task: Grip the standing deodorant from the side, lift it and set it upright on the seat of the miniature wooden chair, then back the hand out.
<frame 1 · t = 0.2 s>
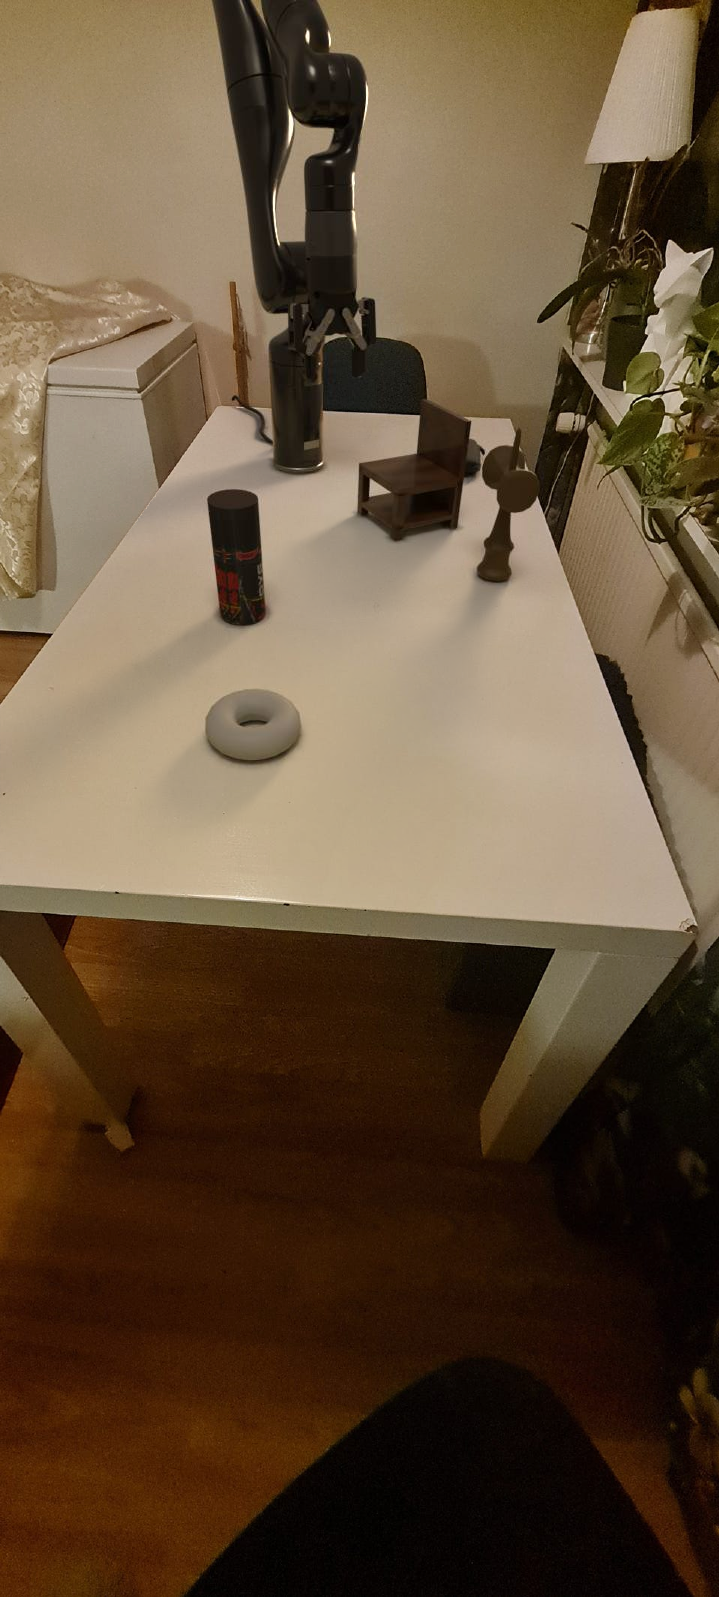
hand: (333, 379, 113), 17 cm above the table, tool pointing down, fingers open, 8 cm apart
kendama: (493, 576, 104), on the table
donut: (254, 737, 75), on the table
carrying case: (456, 465, 136), on the table
deodorant: (243, 615, 93), on the table
miniature wooden chair: (406, 520, 117), on the table
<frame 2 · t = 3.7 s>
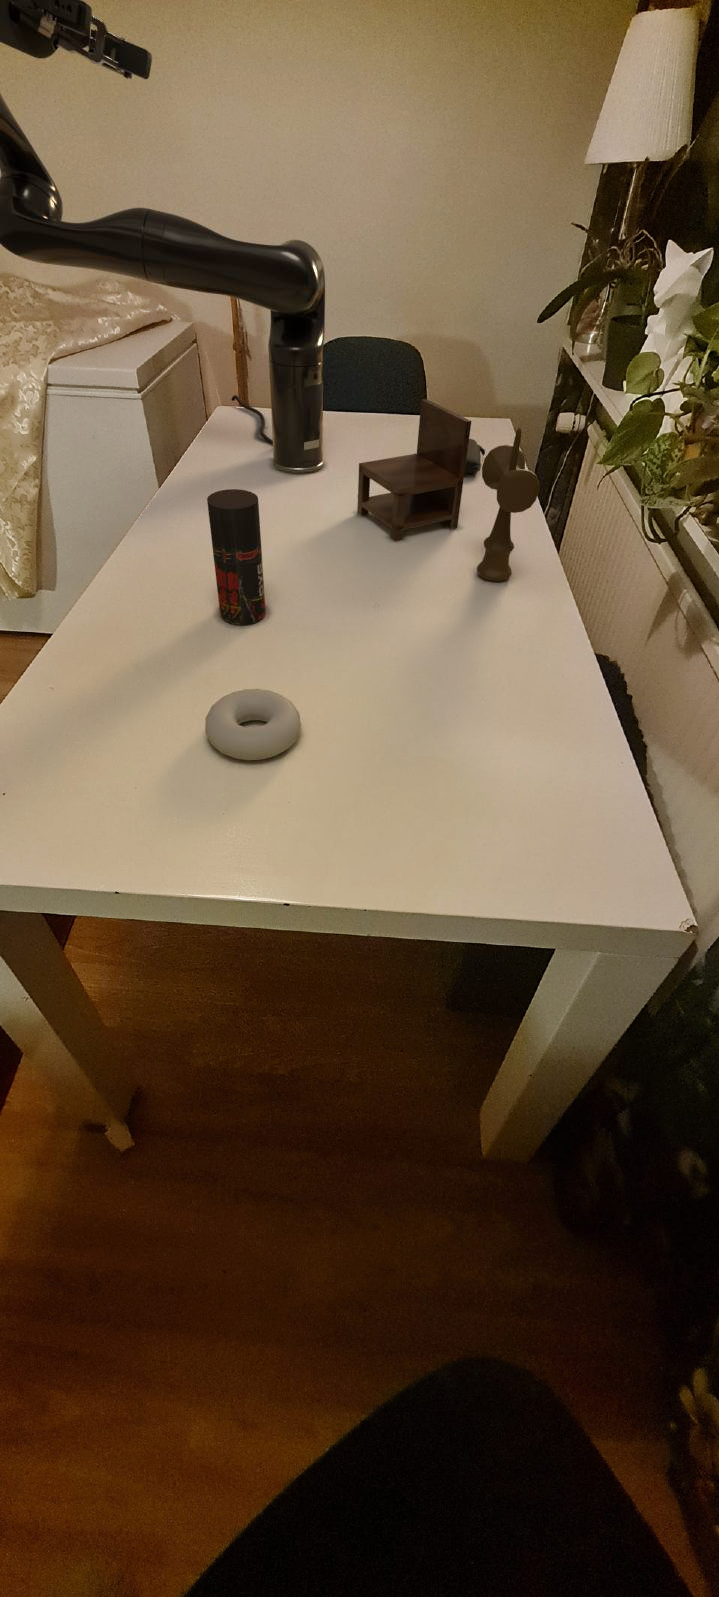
hand: (119, 43, 72), 52 cm above the table, tool horizontal, fingers open, 8 cm apart
nothing on the table moved.
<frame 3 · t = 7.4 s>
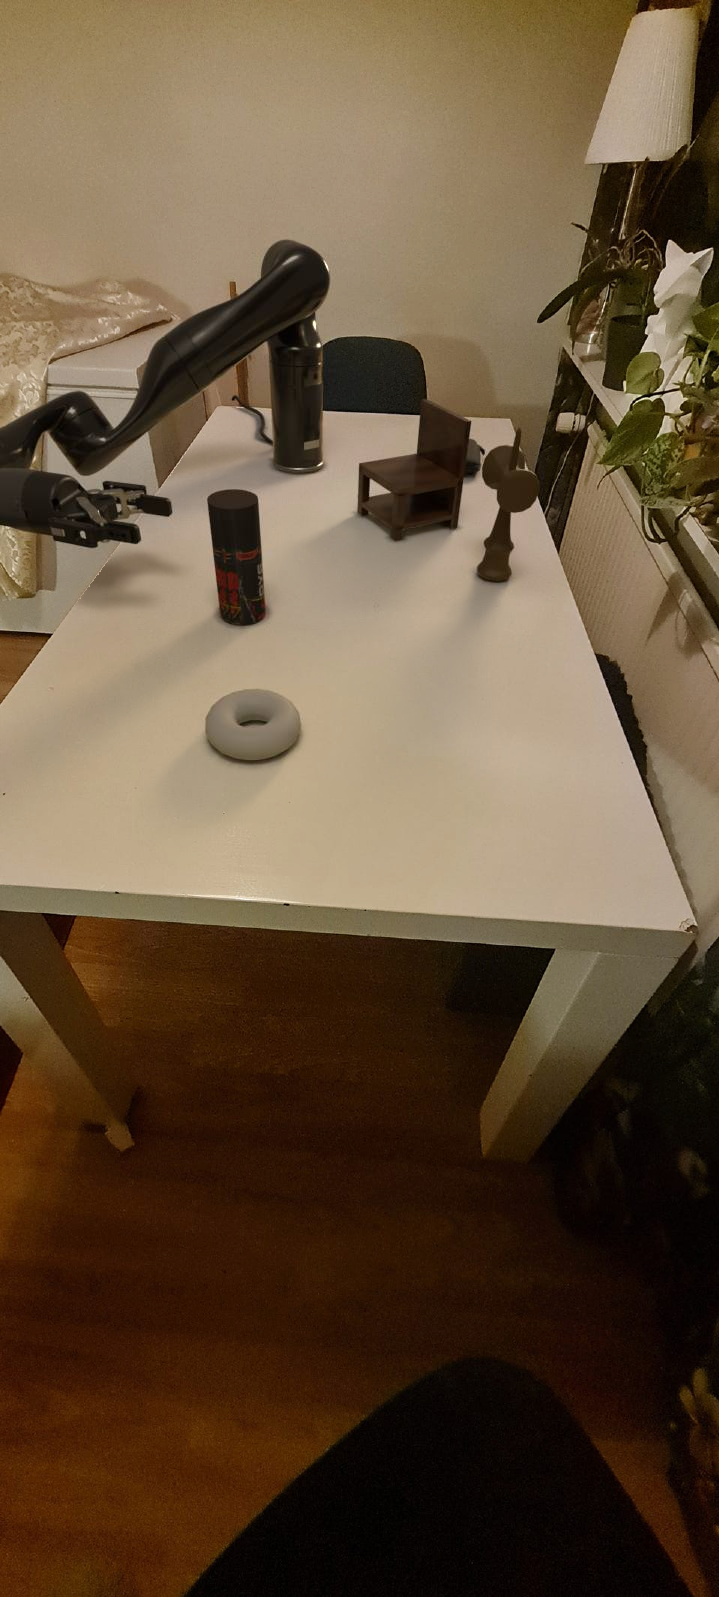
hand: (155, 520, 87), 11 cm above the table, tool horizontal, fingers open, 8 cm apart
nothing on the table moved.
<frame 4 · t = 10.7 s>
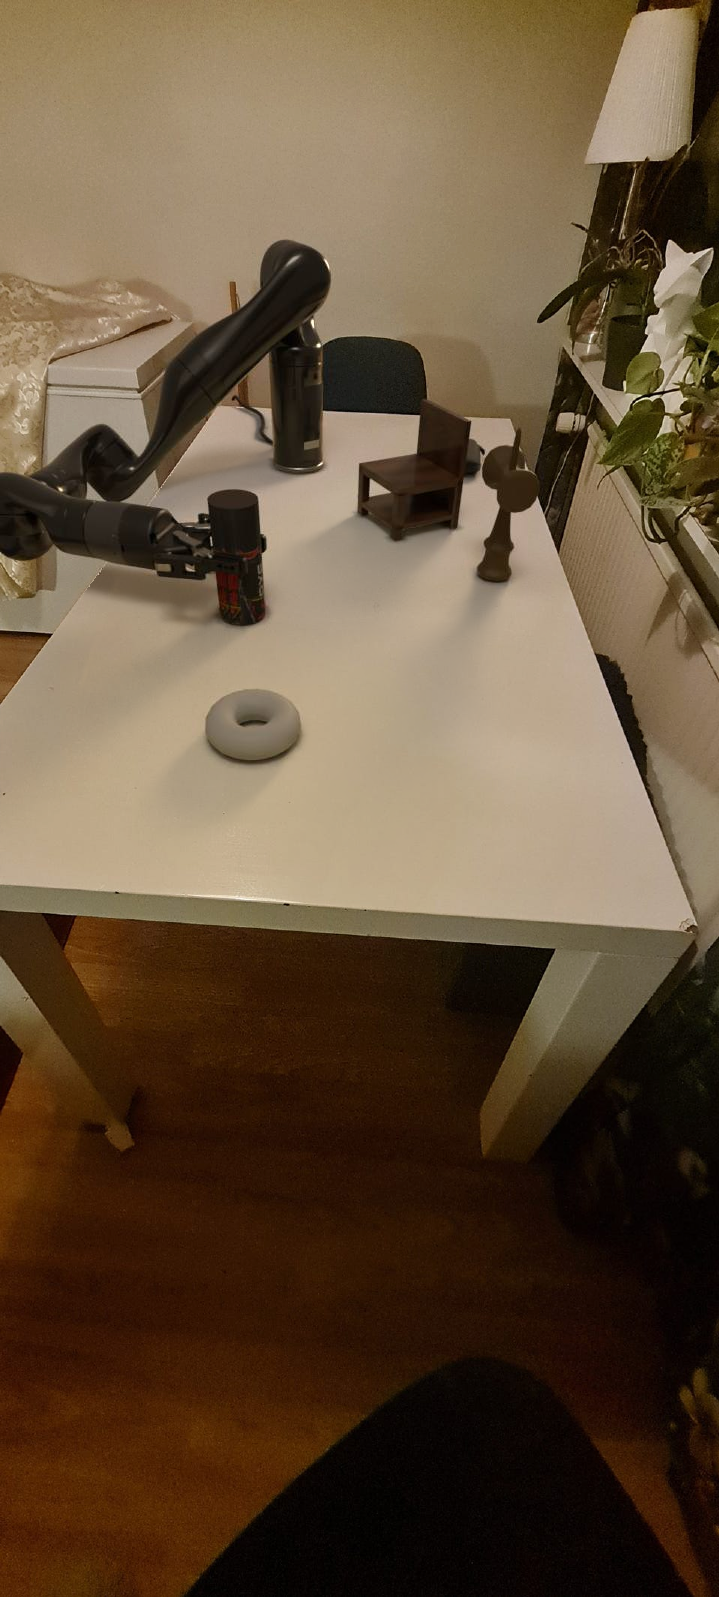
hand: (255, 554, 87), 9 cm above the table, tool horizontal, fingers closed on deodorant, 6 cm apart
deodorant: (243, 615, 93), on the table, touching gripper
everything else where it was.
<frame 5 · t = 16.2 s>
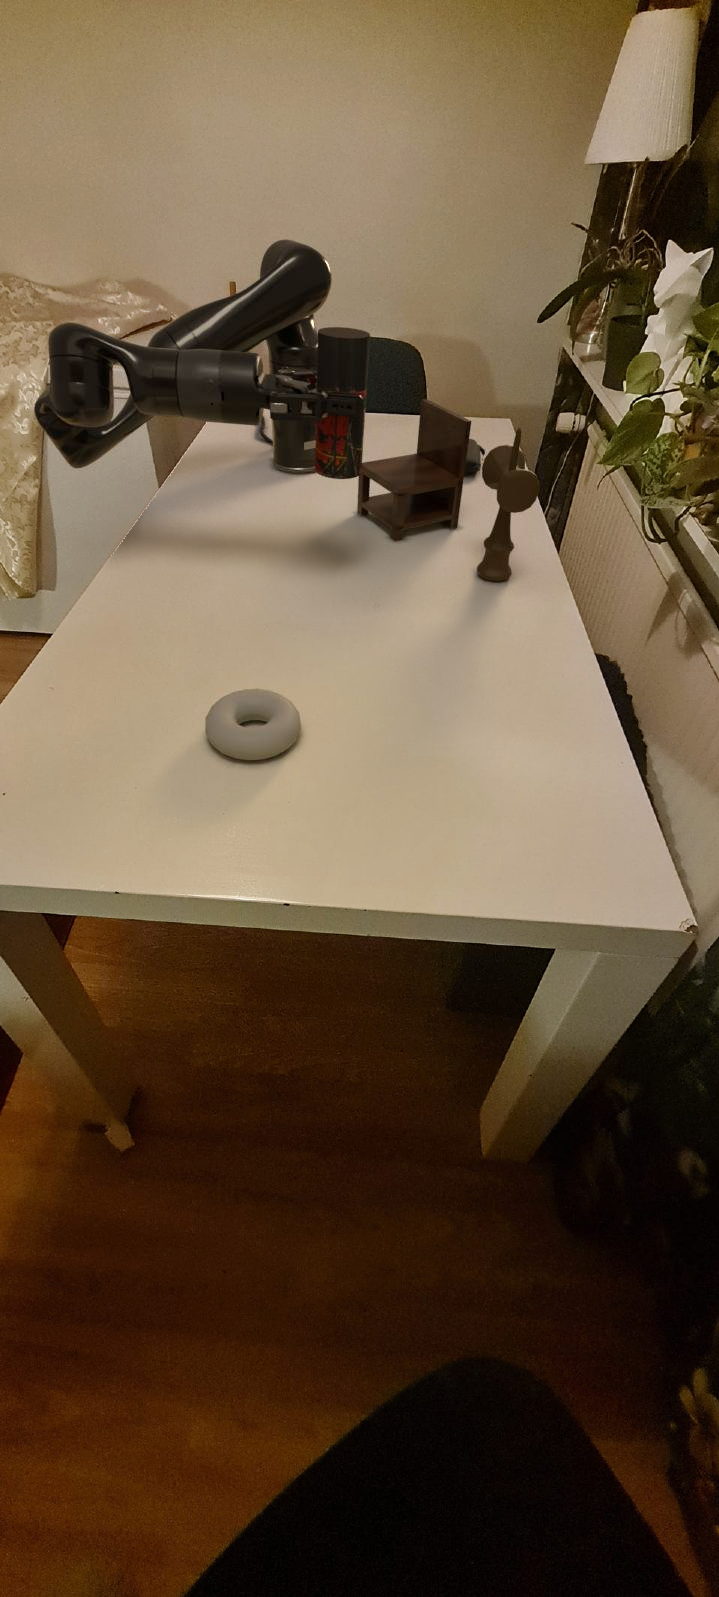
hand: (361, 397, 85), 23 cm above the table, tool horizontal, fingers closed on deodorant, 6 cm apart
deodorant: (338, 472, 90), point 15 cm above the table, touching gripper
everything else where it was.
when the fingers open (17 cm above the table, at t = 21.6 s): deodorant stays where it is, resting on miniature wooden chair.
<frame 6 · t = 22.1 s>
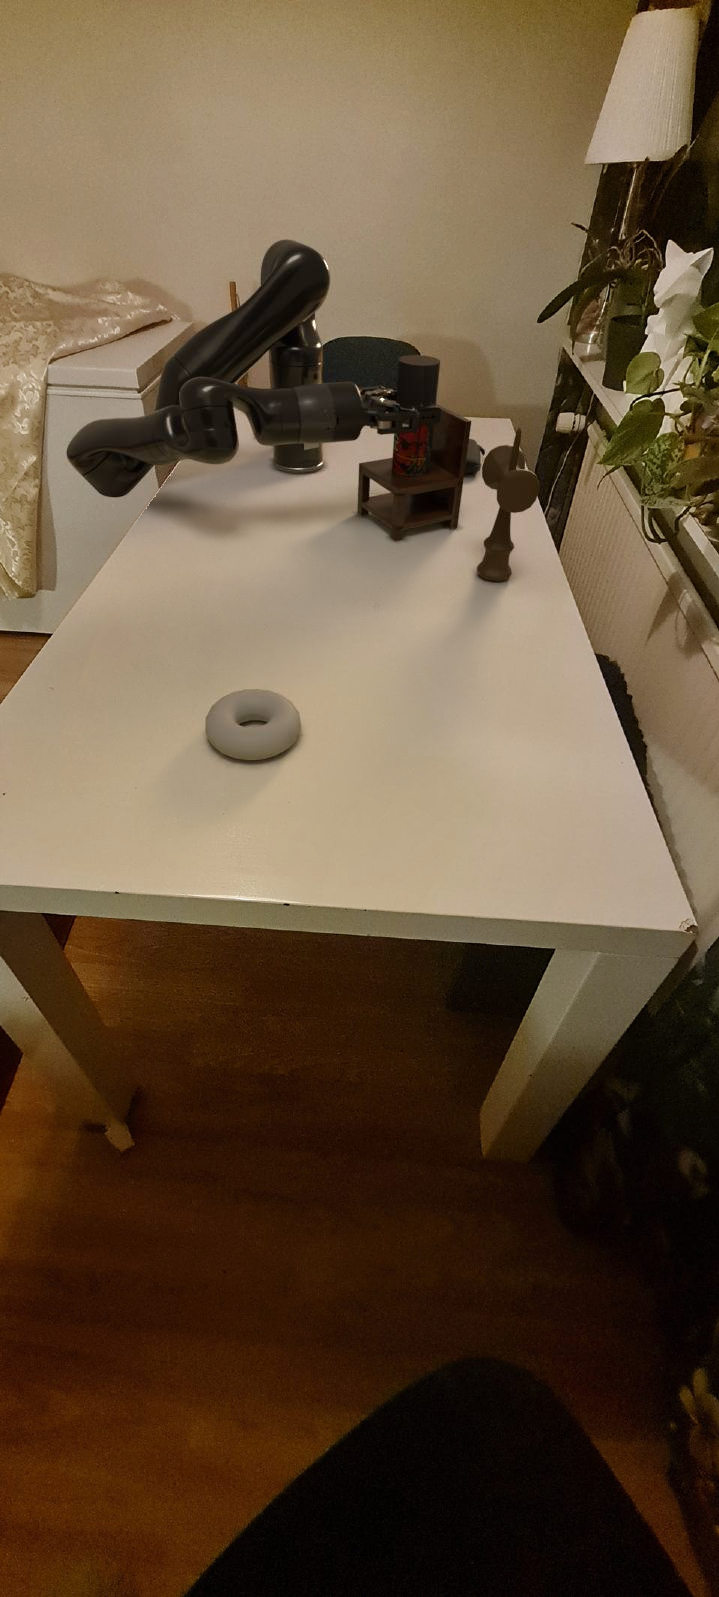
hand: (427, 405, 105), 17 cm above the table, tool horizontal, fingers open, 8 cm apart
deodorant: (410, 470, 111), point 8 cm above the table, touching miniature wooden chair
everything else where it was.
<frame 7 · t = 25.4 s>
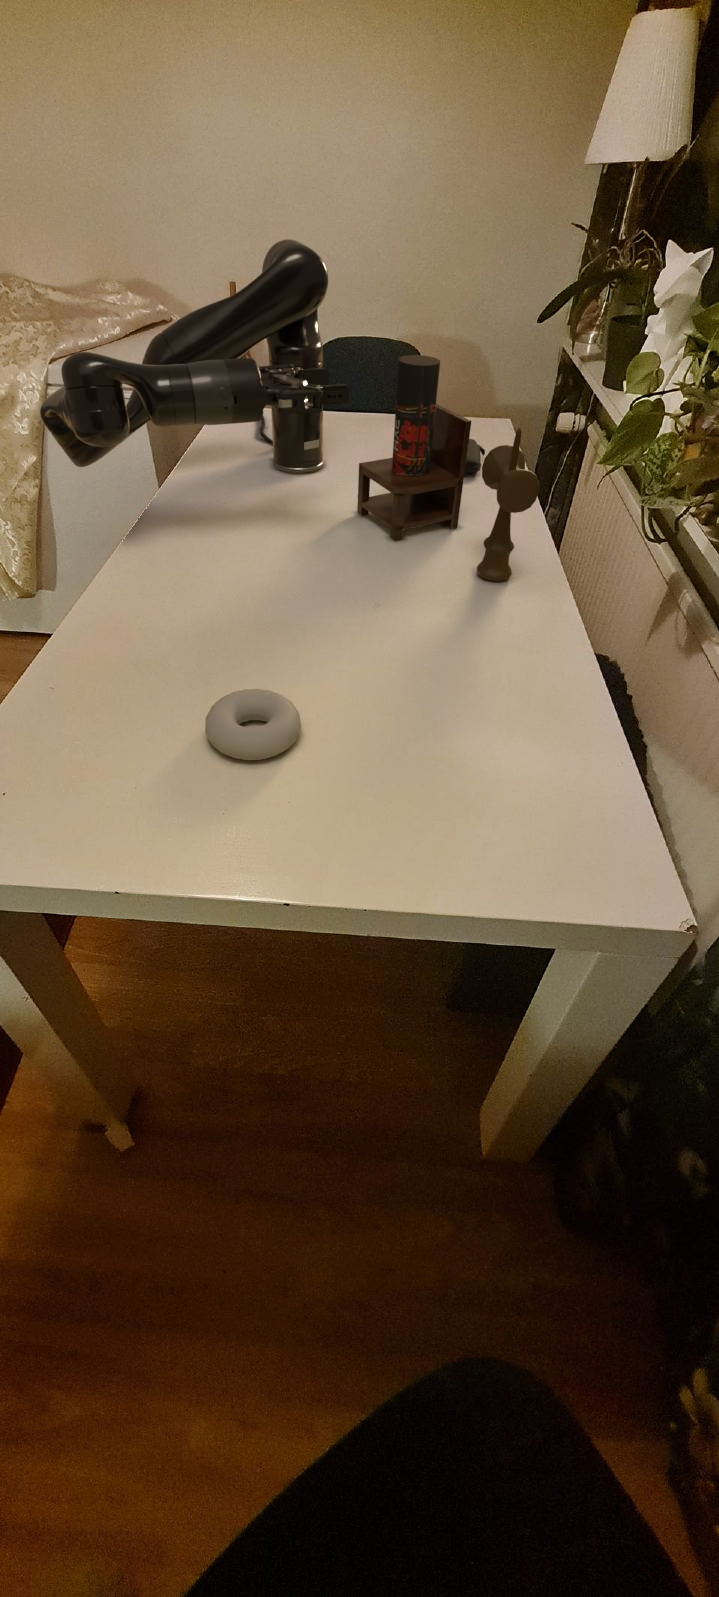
hand: (337, 384, 99), 20 cm above the table, tool horizontal, fingers open, 8 cm apart
nothing on the table moved.
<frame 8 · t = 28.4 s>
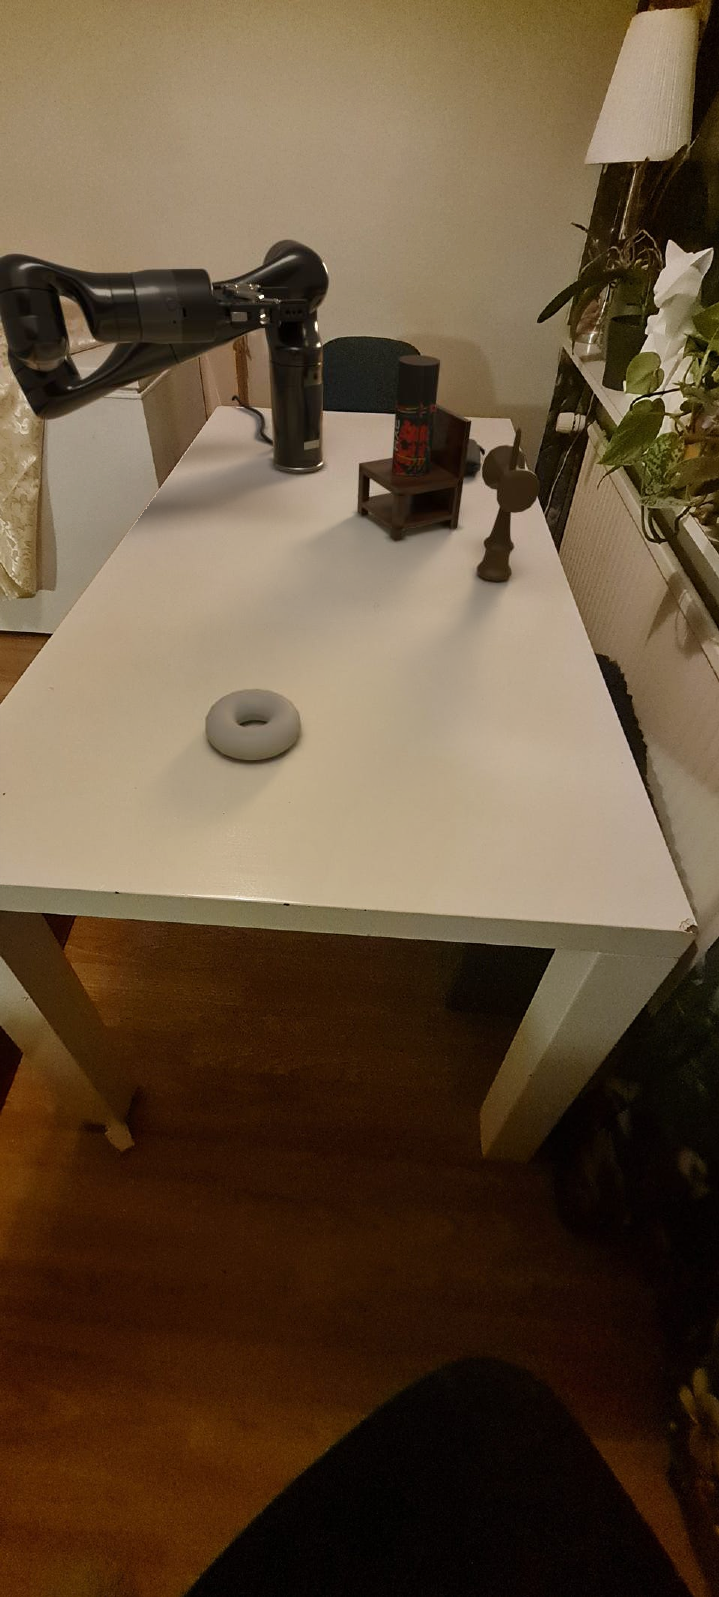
hand: (299, 303, 91), 30 cm above the table, tool horizontal, fingers open, 8 cm apart
nothing on the table moved.
at the end: deodorant inside the target area on the miniature wooden chair (0.0 cm from its centre), point 7.8 cm above the miniature wooden chair's base; deodorant tilted 0°; the gripper is holding nothing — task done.
